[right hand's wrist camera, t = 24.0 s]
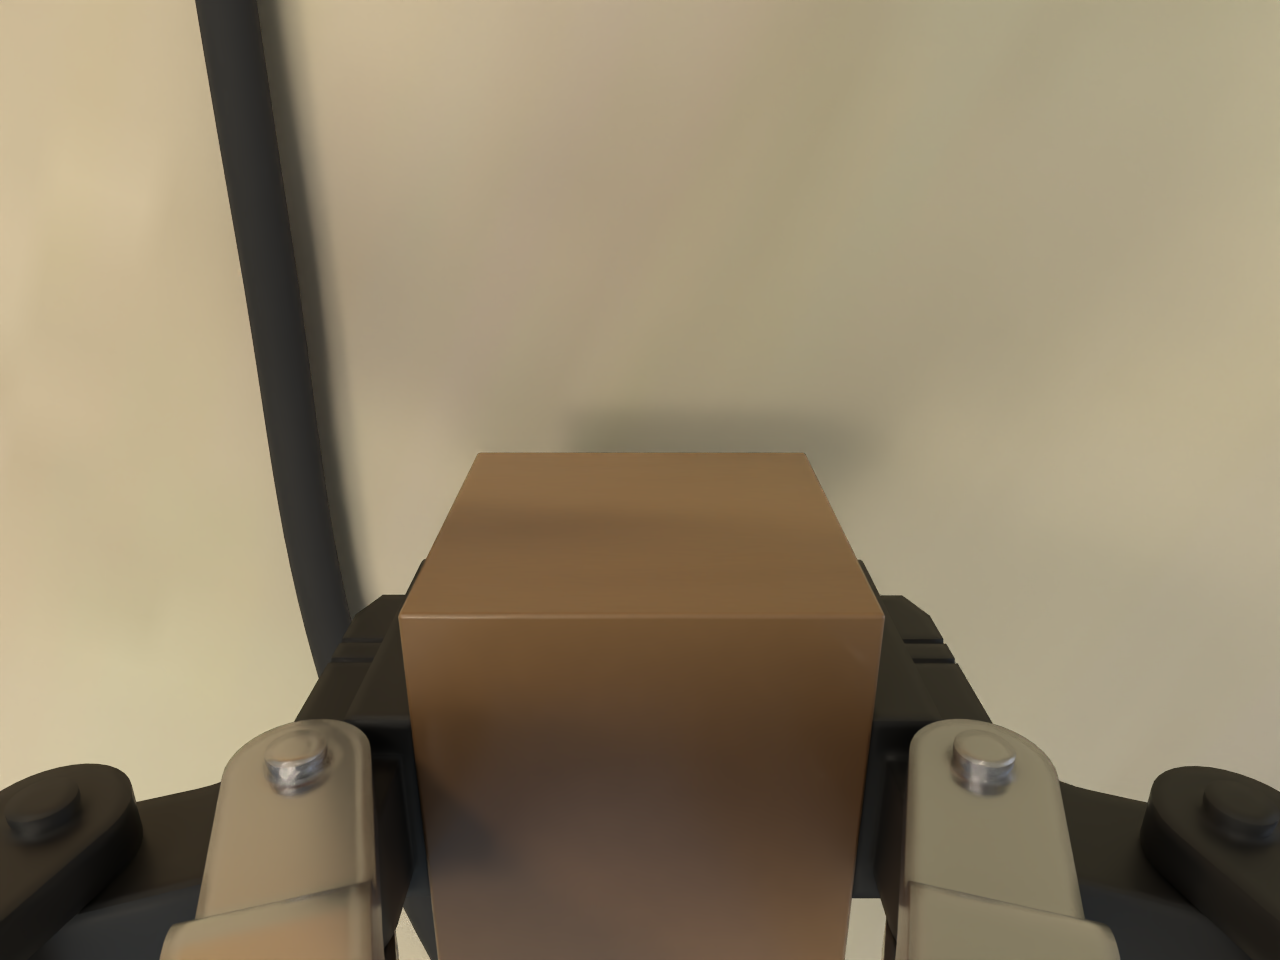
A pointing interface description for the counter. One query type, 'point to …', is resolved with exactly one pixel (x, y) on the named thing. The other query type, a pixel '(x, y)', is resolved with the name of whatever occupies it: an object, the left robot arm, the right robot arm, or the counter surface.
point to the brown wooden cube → (641, 709)
